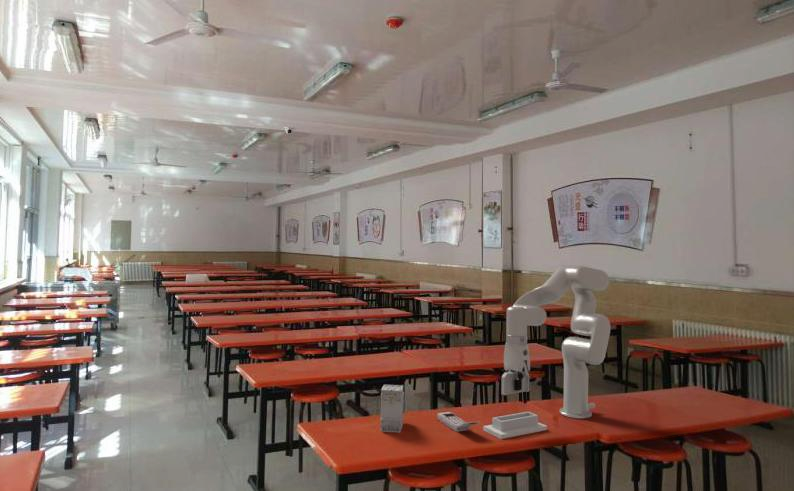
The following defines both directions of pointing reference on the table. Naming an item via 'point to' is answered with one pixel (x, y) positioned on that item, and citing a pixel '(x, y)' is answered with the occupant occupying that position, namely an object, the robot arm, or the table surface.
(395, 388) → the circuit breaker
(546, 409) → the table surface
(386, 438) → the table surface
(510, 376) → the grey flat plate
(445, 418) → the mobile phone
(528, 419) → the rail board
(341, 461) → the table surface
